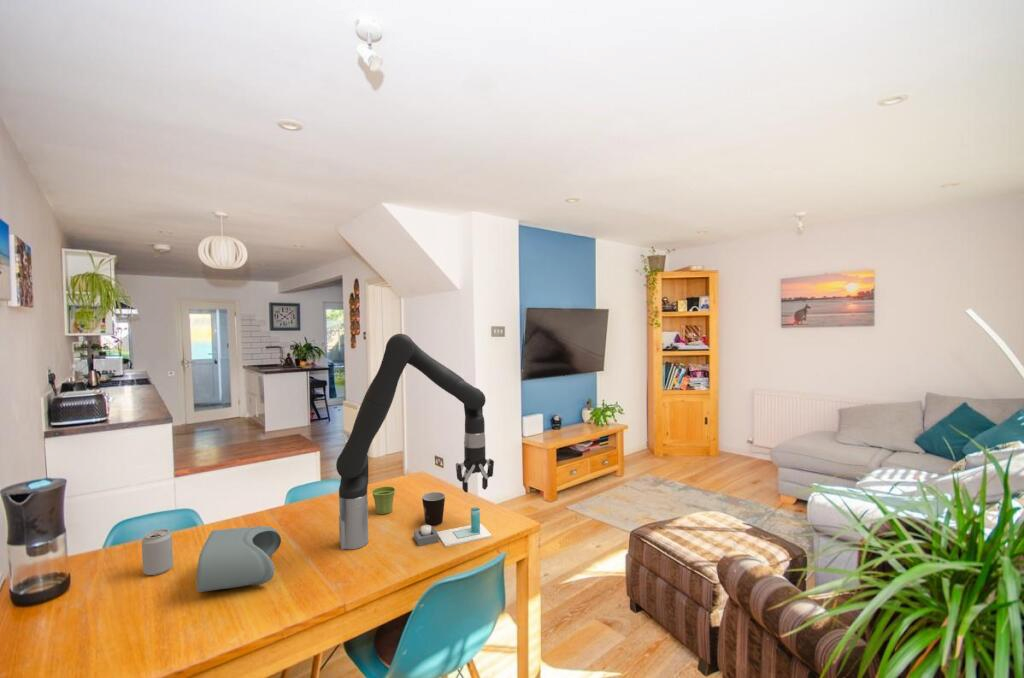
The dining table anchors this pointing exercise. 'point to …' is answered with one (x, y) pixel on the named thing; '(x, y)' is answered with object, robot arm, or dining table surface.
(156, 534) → the can
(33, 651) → the dining table surface
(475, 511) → the marker
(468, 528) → the sheet
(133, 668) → the dining table surface
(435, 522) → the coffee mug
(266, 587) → the dining table surface
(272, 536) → the grey scooped bin
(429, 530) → the button
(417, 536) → the button frame
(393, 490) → the plant pot
